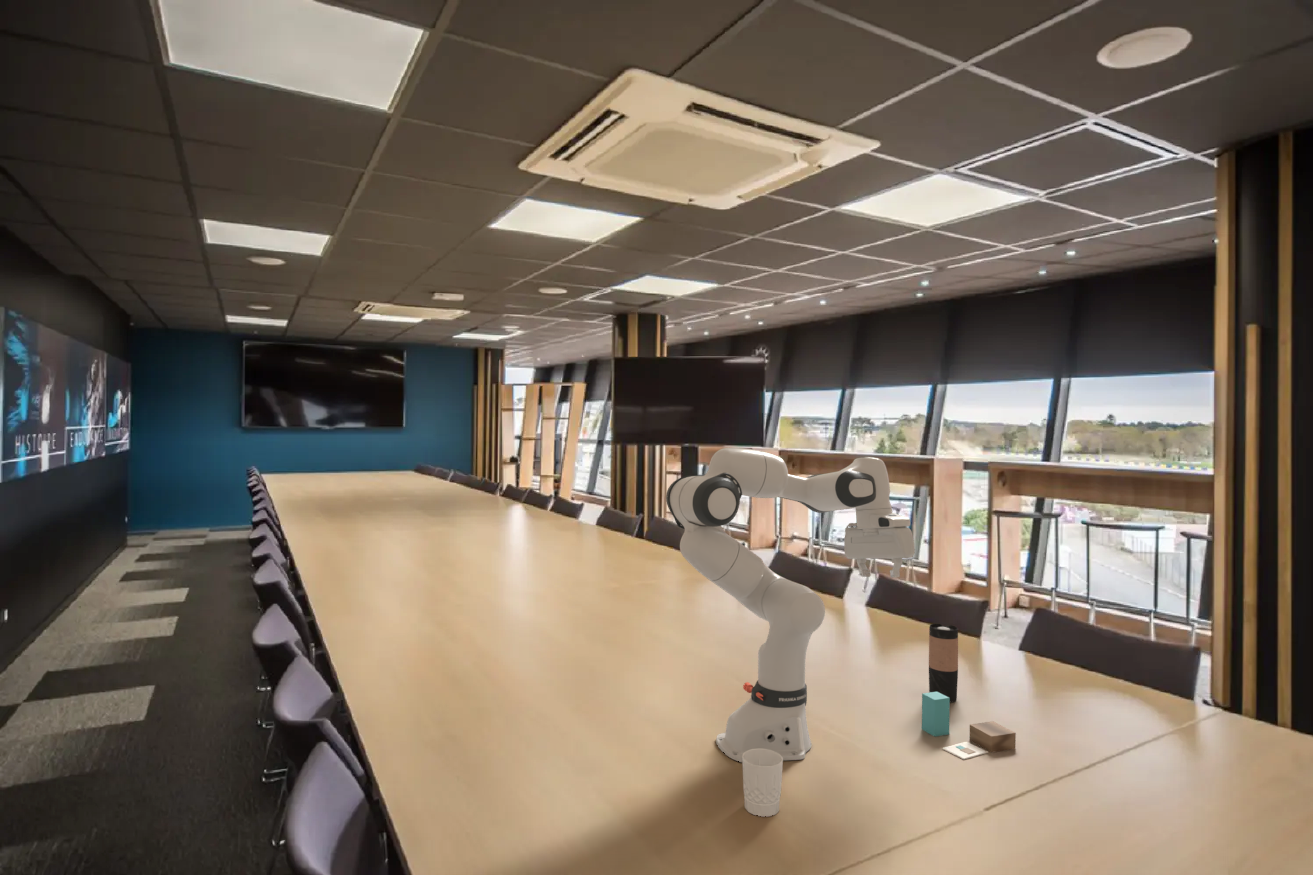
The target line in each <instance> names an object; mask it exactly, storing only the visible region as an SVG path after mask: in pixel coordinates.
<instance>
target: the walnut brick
mask: <svg viewBox="0 0 1313 875" xmlns="http://www.w3.org/2000/svg"><path fill="white" fill-rule="evenodd" d="M1016 735H1017V734H1016V732H1015V731H1013V730H1011V729H1009V728H1007V727H1005V726H1003V725H1001V724H1000V723H997V722H995V721H993V720H991V721H985V722H978V723H977V722H976V723H973V724H971V723H970V724H969V741H971V742H972V743H974V744H975V745H977V746H978V747H980V748H982V749H983V750H985V751H988V752H989V753H997V752H1003V751H1004V752H1005V751H1010V750H1015V749H1016V738H1017V736H1016Z"/></svg>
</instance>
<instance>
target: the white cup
mask: <svg viewBox="0 0 1313 875" xmlns="http://www.w3.org/2000/svg"><path fill="white" fill-rule="evenodd" d="M783 762H784V760H783V758H782V756H781V755H780V754H779V753H777V752H775V751H772V750H768V749H751V750H748V751H746V752H744V753H743V755H742V762H741V764H742V783H743V784H742V788H743V796H744V809H745V810H746V811H747V812H748V813H749V814H752V816H756V815H758V816H757V817H760V816H761V818H762V817H764V818H765V816H766V818H767V817H772V815H773V816H775V815H777V814H778V813H780V812H779V811H780V800H781V794H782V793H781V791H782V782H783Z"/></svg>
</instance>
